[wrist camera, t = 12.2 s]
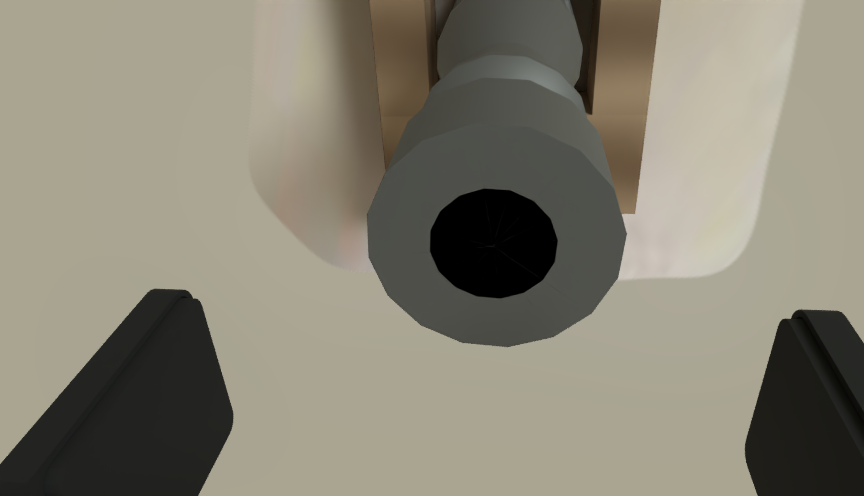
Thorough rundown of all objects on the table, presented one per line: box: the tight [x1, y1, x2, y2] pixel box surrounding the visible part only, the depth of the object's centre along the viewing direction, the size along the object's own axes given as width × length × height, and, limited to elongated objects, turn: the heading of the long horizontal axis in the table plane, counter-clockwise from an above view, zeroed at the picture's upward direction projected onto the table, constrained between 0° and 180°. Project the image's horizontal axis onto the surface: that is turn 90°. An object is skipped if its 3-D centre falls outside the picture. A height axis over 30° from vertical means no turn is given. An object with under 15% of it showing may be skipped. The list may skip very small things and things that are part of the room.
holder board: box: [369, 0, 661, 214], centre depth 34 cm, size 20×14×4 cm
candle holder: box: [367, 0, 627, 347], centre depth 25 cm, size 6×6×25 cm
